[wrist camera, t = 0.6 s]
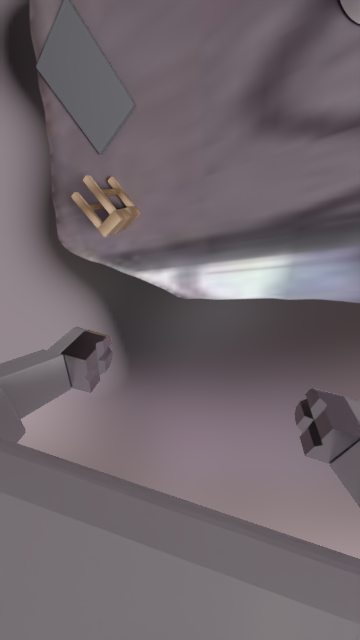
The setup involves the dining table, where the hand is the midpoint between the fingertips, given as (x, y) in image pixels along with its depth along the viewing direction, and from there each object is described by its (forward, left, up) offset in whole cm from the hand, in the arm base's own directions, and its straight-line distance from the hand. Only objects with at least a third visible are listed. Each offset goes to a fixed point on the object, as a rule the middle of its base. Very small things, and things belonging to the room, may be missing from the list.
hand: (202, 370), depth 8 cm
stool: (+7, -25, -44) cm, 51 cm away
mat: (-9, -35, -44) cm, 57 cm away
